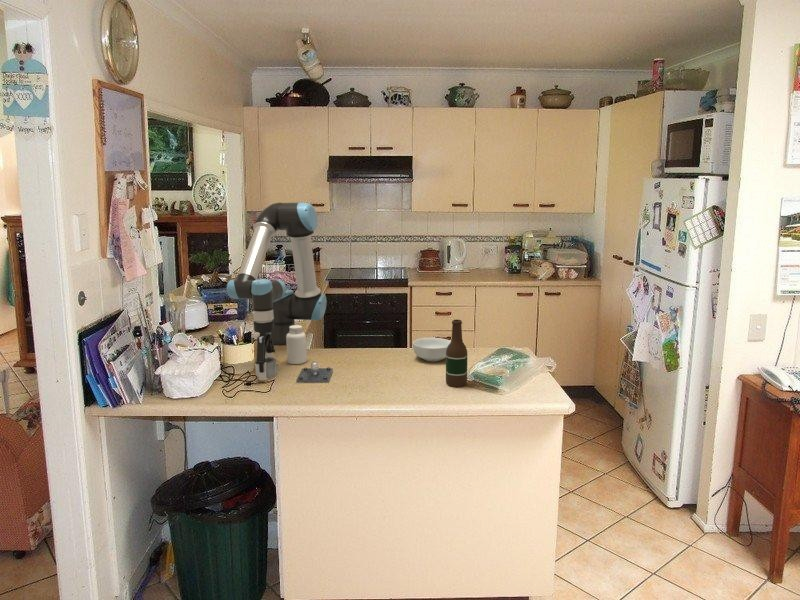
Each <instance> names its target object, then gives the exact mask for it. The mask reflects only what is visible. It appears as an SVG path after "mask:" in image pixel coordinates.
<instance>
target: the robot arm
mask: <svg viewBox="0 0 800 600" xmlns="http://www.w3.org/2000/svg"><path fill="white" fill-rule="evenodd" d="M317 227H318V215H317V212H316V208H315V207H314V206H313V205H312V204H311V203H308V202H302V201H301V202H275V203H272V204H270V205H268V206H267V207H265V208H264V209H263V210H262V211H261V212H260V213H259V214H258V216H257V217H256V218H255V221H254V224H253V227H252V230H253V234H252V236H251V239H250V240H249V244H248V246H247V250H246V252H245V254H244V258H243V260H242V263H241V266H240V269H239V272H238V274H237V277H236V279H231V280H229V281H228V282H227V284H226V294H227V295H228V297H229V298H231V299H236V300H252V301H251V302H252V312H251V315H253V331H254V332H255V333H258V334H259V335H258V336H257V338H256V339H257V341H256V342H257V343H256V346H257V347H256V360H255V361H256V364H258V374H259V378H258V381H267V378H266V363H265V357H272V358H274V353H276V349H275V346H284V345H286V335H287V334H288V333H290V332H289V331H290V330H289V327H290V326H293V325H296V324H295V322H296V321H297V320H299V321H311V322H312V321H320V320H322V319H323V318H324V315H325V314H326V309H327V303H328V302H327V300H328V299H327V297H326V295H325V294H322V292H321V291H322V290H321V289H320V288H319V287H318V285H317V277H316V269H315V261H314V252H313V244H312V236H313V234H314V231H315V230H316V229H317ZM277 231H285V234H286V236H287V237H288V238H289V239H290V242H291V250H292V257H293V264H294V272H295V273H294V274H295V282H296V287H297V288H296V290H295V292H294V290H292V289H287V286H286V284H285V282H284V281H282V280H281V279H271V280H270V279H268V278H267V279H266V278H265V279H264V278H263V279H262V278H261V279H260V278H259V279H258V276H259V274H260V270H261V268H262V265H263V263H264V260H265V257H266V254H267V251H268V248H269V246H270V243H271V240H272V238H273V237H275V236H276V233H277ZM295 320H296V321H295ZM274 345H275V346H274ZM286 346H287V345H286Z"/></svg>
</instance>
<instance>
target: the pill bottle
mask: <svg viewBox="0 0 800 600" xmlns="http://www.w3.org/2000/svg"><path fill="white" fill-rule="evenodd" d="M289 330H290V331H289V332H290V333H288V334H287V335H286V361H287V363H288V364H290V365H301V364H305V363H307V361H308V360H307V356H308V355H307V335H306V333H305V332H304V331H303V326H302V325H299V324H295V325H293V326H290V327H289Z"/></svg>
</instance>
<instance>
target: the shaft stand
mask: <svg viewBox="0 0 800 600" xmlns="http://www.w3.org/2000/svg"><path fill="white" fill-rule="evenodd" d="M319 365H320V364H319V361H311V362H310V367H309V368H308V367H303V368H301V370H300V373H299V374H298V376H297V378H296V383H297V382H304V383H306V384H307V383H308V382H309V383H313V384H314V383H330V380H331V378H332V375H331V374H333V372H332V371H334V369H333V368H334V367H329V366H328V367H326V368H324V367H323V368H322V367H321V368H320V366H319ZM330 377H331V378H330Z"/></svg>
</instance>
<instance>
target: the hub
mask: <svg viewBox="0 0 800 600" xmlns="http://www.w3.org/2000/svg"><path fill="white" fill-rule="evenodd" d="M265 363H266V379H271V377H272V378H274V376H275V377H276V376H277V375H278V366H277V358H275V357H273V358H272V357H266V356H265ZM254 364H255V366H254V367H255V377H256V376H258V377H259V374H258V364H256V360H254ZM258 377H257V378H258Z"/></svg>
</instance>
